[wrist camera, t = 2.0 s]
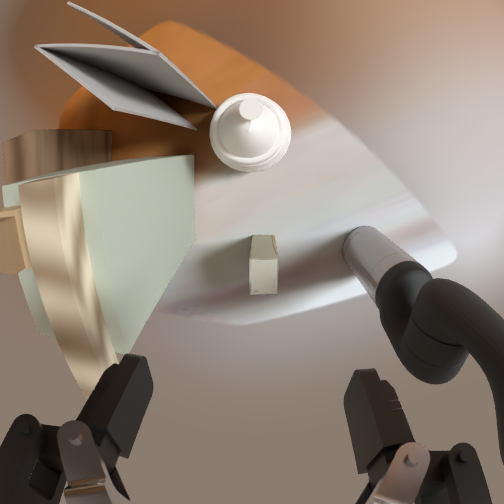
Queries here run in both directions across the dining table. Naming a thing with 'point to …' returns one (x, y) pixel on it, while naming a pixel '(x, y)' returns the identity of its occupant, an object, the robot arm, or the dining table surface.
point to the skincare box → (263, 265)
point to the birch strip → (66, 275)
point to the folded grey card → (126, 74)
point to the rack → (117, 237)
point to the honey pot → (249, 132)
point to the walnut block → (54, 152)
